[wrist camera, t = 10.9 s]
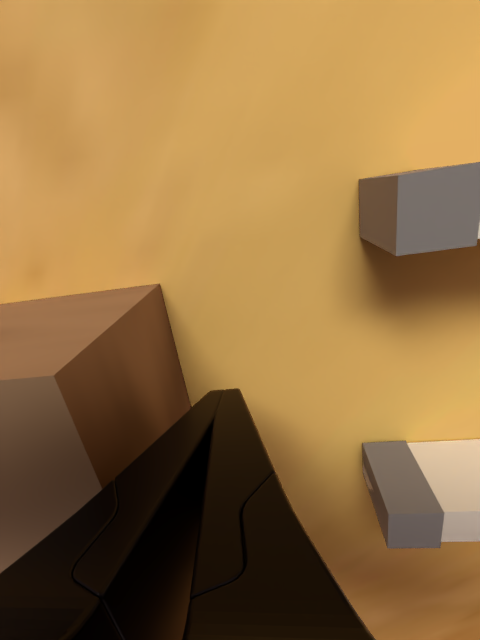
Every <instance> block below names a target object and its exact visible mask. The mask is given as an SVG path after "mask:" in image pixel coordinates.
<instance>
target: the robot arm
mask: <svg viewBox="0 0 480 640" xmlns="http://www.w3.org/2000/svg"><path fill="white" fill-rule="evenodd" d="M0 640H376V639H375V638H374V637H373V635H372V634H371V633H370V631H369V630H368V629H367V627H366V626H365V624H364V623H363V621H362V620H361V619H360V617H359V616H358V614H357V613H356V611H355V610H354V608H353V607H352V605H351V604H350V602H349V600H348V599H347V597H346V596H345V594H344V592H343V591H342V589H341V588H340V586H339V584H338V583H337V581H336V580H335V578H334V576H333V575H332V573H331V572H330V570H329V568H328V567H327V565H326V564H325V562H324V560H323V559H322V557H321V556H320V554H319V552H318V551H317V549H316V548H315V546H314V544H313V543H312V541H311V540H310V538H309V536H308V535H307V533H306V531H305V530H304V528H303V526H302V524H301V523H300V521H299V519H298V517H297V516H296V514H295V512H294V510H293V509H292V507H291V504H290V502H289V500H288V498H287V496H286V494H285V492H284V490H283V488H282V486H281V483H280V481H279V479H278V476H277V475H276V472H275V470H274V467H273V465H272V463H271V461H270V458H269V456H268V454H267V451H266V449H265V447H264V444H263V442H262V440H261V437H260V435H259V433H258V430H257V428H256V426H255V423H254V421H253V419H252V416H251V414H250V412H249V410H248V407H247V405H246V403H245V400H244V398H243V396H242V393H241V391H240V389H226V390H213V391H210V392H208V393H207V394H206V395H205V396H204V397H203V398H202V399H201V400H200V401H198V402H197V403H196V404H195V405H194V406H193V407H192V408H191V409H190V410H189V411H187V412H186V413H185V414H184V415H183V416H182V417H181V418H180V419H179V420H178V421H176V422H175V423H174V424H173V425H172V426H171V427H170V428H169V429H168V430H167V431H166V432H164V433H163V434H162V435H161V436H160V437H159V438H158V439H157V440H156V441H155V442H153V443H152V444H151V445H150V446H149V447H148V448H147V449H146V450H145V451H144V452H143V453H141V454H140V455H139V456H138V457H137V458H136V459H135V460H134V461H133V462H132V463H130V464H129V465H128V466H127V467H126V468H125V469H124V470H123V471H122V472H121V473H119V474H118V475H117V476H116V477H115V480H112V481H111V482H109V483H108V484H107V485H106V486H105V487H104V488H103V489H102V490H101V491H100V492H98V493H97V494H96V495H95V496H94V497H93V498H92V499H91V500H89V501H88V502H87V503H86V504H85V505H84V506H83V507H81V508H80V509H79V510H78V511H77V512H76V513H75V514H73V515H72V516H71V517H70V518H68V519H67V520H66V521H65V522H64V523H62V524H61V525H60V526H59V527H57V528H56V529H55V530H54V531H53V532H51V533H50V534H49V535H48V536H46V537H45V538H44V539H43V540H41V541H40V542H39V543H38V544H36V545H35V546H34V547H33V548H31V549H30V550H29V551H28V552H26V553H25V554H24V555H23V556H21V557H20V558H19V559H17V560H16V561H15V562H14V563H12V564H11V565H10V566H9V567H7V568H6V569H5V570H4V571H2V572H1V573H0Z"/></svg>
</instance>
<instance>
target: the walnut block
mask: <svg viewBox="0 0 480 640" xmlns="http://www.w3.org/2000/svg"><path fill="white" fill-rule="evenodd" d="M190 409H191V406H190V402H189V398H188V394H187V390H186V386H185V382H184V378H183V374H182V370H181V367H180V363H179V359H178V355H177V351H176V347H175V343H174V339H173V335H172V331H171V327H170V323H169V319H168V315H167V311H166V307H165V303H164V300H163V296H162V292H161V288H160V284H154V285H146V286H138V287H131V288H123V289H115V290H108V291H100V292H92V293H84V294H77V295H69V296H61V297H54V298H46V299H38V300H31V301H23V302H15V303H7V304H0V573H1V572H2V571H4V570H5V569H6V568H7V567H9V566H10V565H11V564H12V563H14V562H15V561H16V560H17V559H19V558H20V557H21V556H23V555H24V554H25V553H26V552H28V551H29V550H30V549H31V548H33V547H34V546H35V545H36V544H38V543H39V542H40V541H41V540H43V539H44V538H45V537H46V536H48V535H49V534H50V533H51V532H53V531H54V530H55V529H56V528H57V527H59V526H60V525H61V524H62V523H64V522H65V521H66V520H67V519H68V518H70V517H71V516H72V515H73V514H75V513H76V512H77V511H78V510H79V509H80V508H81V507H83V506H84V505H85V504H86V503H87V502H88V501H89V500H91V499H92V498H93V497H94V496H95V495H96V494H97V493H98V492H100V491H101V490H102V489H103V488H104V487H105V486H106V485H107V484H108V483H109V482H111V481H112V480H115V477H116V476H117V475H118V474H119V473H121V472H122V471H123V470H124V469H125V468H126V467H127V466H128V465H129V464H130V463H132V462H133V461H134V460H135V459H136V458H137V457H138V456H139V455H140V454H141V453H143V452H144V451H145V450H146V449H147V448H148V447H149V446H150V445H151V444H152V443H153V442H155V441H156V440H157V439H158V438H159V437H160V436H161V435H162V434H163V433H164V432H166V431H167V430H168V429H169V428H170V427H171V426H172V425H173V424H174V423H175V422H176V421H178V420H179V419H180V418H181V417H182V416H183V415H184V414H185V413H186V412H187V411H189V410H190Z"/></svg>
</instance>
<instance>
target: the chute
mask: <svg viewBox="0 0 480 640" xmlns="http://www.w3.org/2000/svg"><path fill="white" fill-rule="evenodd" d="M359 218H360V237H361V238H363V239H365V240H367V241H369V242H370V243H372V244H374V245H376V246H378V247H380V248H382V249H384V250H385V251H387V252H389V253H391V254H393V255H395V256H401V255H408V254H416V253H424V252H432V251H439V250H447V249H455V248H463V247H470V246H477V239H480V162H476V163H468V164H460V165H452V166H444V167H437V168H429V169H421V170H414V171H408V172H402V173H396V174H390V175H383V176H377V177H371V178H365V179H359ZM363 475H364V478H365V481H366V484H367V487H368V490H369V493H370V496H371V499H372V502H373V505H374V508H375V511H376V515H377V518H378V521H379V524H380V527H381V530H382V533H383V536H384V539H385V542H386V545H387V548H440V546H441V542H467V541H480V439H472V440H453V441H434V442H415V443H406V441H391V442H372V443H363Z"/></svg>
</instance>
